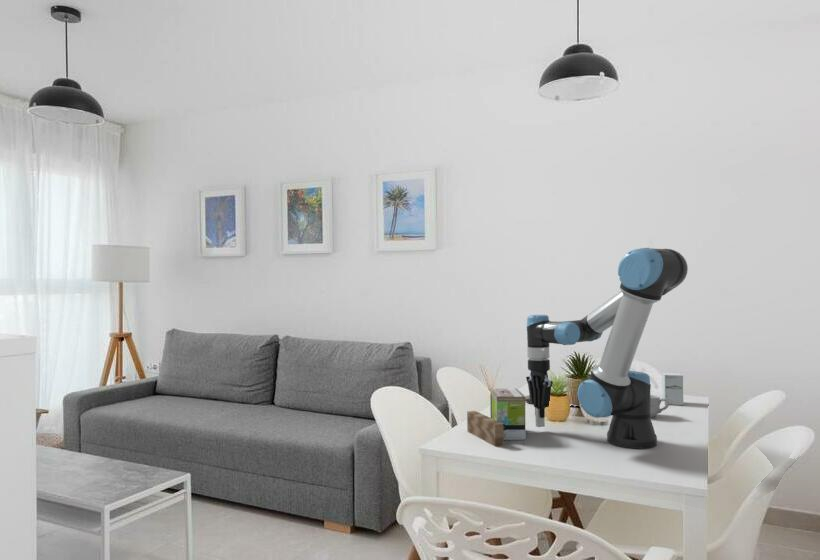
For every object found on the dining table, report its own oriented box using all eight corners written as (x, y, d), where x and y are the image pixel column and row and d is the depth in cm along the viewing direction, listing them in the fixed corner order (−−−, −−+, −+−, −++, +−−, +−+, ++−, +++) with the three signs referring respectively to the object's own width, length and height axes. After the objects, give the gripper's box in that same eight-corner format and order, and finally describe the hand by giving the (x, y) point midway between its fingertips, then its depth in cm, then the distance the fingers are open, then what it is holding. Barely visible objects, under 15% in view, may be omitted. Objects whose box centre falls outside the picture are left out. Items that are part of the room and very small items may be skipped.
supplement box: (664, 404, 237) (663, 374, 237) (662, 401, 244) (661, 371, 244) (683, 405, 235) (683, 375, 235) (680, 402, 242) (680, 372, 242)
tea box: (526, 440, 188) (526, 395, 188) (496, 440, 188) (495, 396, 188) (518, 428, 203) (517, 387, 203) (489, 429, 203) (489, 387, 203)
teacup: (624, 416, 219) (624, 395, 219) (638, 411, 226) (638, 391, 226) (660, 422, 208) (660, 400, 208) (673, 417, 216) (673, 396, 216)
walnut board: (503, 445, 183) (503, 423, 183) (495, 446, 182) (495, 424, 182) (475, 430, 202) (474, 410, 202) (467, 431, 200) (467, 411, 200)
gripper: (558, 360, 194) (560, 429, 194) (537, 356, 207) (538, 421, 206) (540, 361, 192) (541, 431, 192) (519, 357, 204) (520, 423, 204)
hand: (540, 426), depth 199 cm, fingers closed
